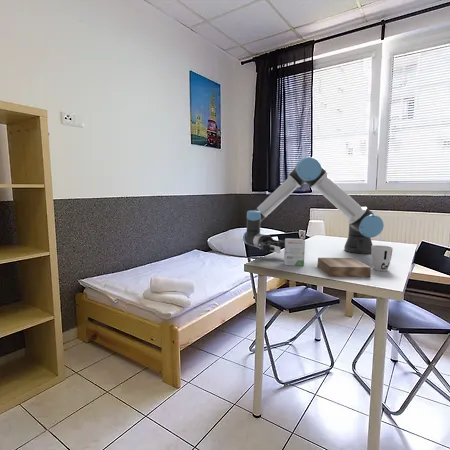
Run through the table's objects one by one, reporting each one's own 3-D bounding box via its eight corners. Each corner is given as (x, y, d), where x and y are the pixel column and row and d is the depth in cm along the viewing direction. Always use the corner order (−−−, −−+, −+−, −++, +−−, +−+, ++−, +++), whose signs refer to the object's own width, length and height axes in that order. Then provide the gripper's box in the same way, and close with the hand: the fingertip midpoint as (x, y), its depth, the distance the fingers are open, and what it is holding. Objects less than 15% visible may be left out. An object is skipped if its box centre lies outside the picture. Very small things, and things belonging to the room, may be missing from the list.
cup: (382, 273, 124) (384, 249, 122) (365, 268, 131) (367, 246, 130) (395, 270, 127) (396, 247, 126) (377, 266, 134) (379, 244, 133)
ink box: (284, 265, 134) (285, 239, 133) (283, 262, 139) (284, 237, 138) (304, 266, 133) (305, 240, 132) (302, 263, 138) (303, 238, 137)
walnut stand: (353, 266, 133) (353, 258, 133) (370, 277, 117) (371, 267, 117) (317, 266, 133) (318, 257, 133) (329, 276, 117) (330, 266, 117)
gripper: (282, 247, 161) (310, 254, 143) (243, 251, 149) (269, 259, 131) (282, 233, 161) (311, 239, 142) (243, 236, 149) (269, 243, 130)
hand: (291, 249), depth 137 cm, fingers open, 13 cm apart
